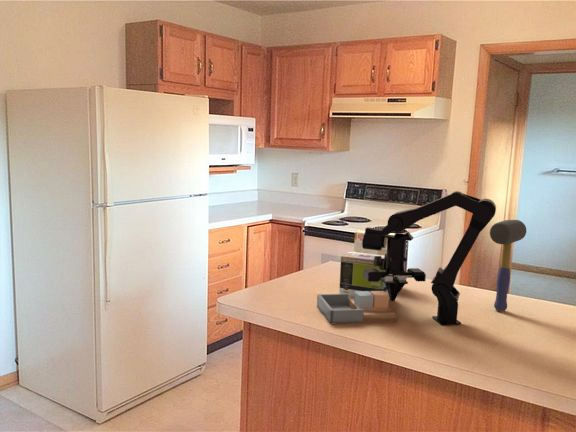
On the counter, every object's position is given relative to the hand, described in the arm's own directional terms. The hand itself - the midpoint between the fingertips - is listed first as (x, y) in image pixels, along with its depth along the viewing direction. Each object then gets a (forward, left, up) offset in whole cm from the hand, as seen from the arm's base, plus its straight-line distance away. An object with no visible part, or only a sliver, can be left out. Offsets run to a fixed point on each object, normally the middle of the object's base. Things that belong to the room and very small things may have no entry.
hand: (392, 301), depth 167 cm
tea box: (+16, +4, -4) cm, 17 cm away
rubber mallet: (-1, -37, -4) cm, 37 cm away
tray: (0, +17, -4) cm, 18 cm away
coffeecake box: (+33, -6, -4) cm, 34 cm away
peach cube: (0, +4, -1) cm, 5 cm away
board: (0, +7, -4) cm, 8 cm away
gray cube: (0, +9, -1) cm, 9 cm away
